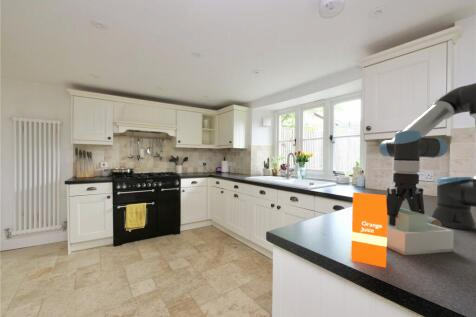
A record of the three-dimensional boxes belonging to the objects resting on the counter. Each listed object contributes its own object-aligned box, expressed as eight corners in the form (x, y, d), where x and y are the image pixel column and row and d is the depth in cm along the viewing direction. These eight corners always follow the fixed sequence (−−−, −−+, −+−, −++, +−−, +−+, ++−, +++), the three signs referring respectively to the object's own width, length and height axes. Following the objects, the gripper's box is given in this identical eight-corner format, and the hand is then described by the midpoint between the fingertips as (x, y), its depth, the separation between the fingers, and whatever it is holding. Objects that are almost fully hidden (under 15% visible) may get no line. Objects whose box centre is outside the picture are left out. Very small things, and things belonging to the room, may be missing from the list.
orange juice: (350, 250, 72) (352, 190, 71) (382, 256, 68) (384, 193, 67) (351, 260, 65) (353, 194, 64) (386, 268, 61) (388, 197, 60)
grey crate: (402, 232, 91) (403, 216, 90) (453, 251, 73) (453, 230, 73) (361, 234, 87) (362, 217, 86) (404, 255, 69) (405, 233, 69)
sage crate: (400, 230, 85) (400, 208, 85) (426, 240, 76) (427, 215, 75) (383, 231, 84) (383, 208, 84) (408, 241, 74) (409, 215, 74)
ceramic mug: (431, 238, 85) (432, 218, 85) (409, 231, 93) (409, 213, 93) (448, 235, 88) (449, 217, 88) (425, 229, 96) (426, 212, 96)
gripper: (418, 172, 85) (416, 229, 85) (373, 171, 81) (371, 231, 81) (439, 173, 78) (437, 236, 78) (391, 173, 74) (389, 239, 74)
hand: (403, 233), depth 80 cm, fingers closed on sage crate, 8 cm apart
